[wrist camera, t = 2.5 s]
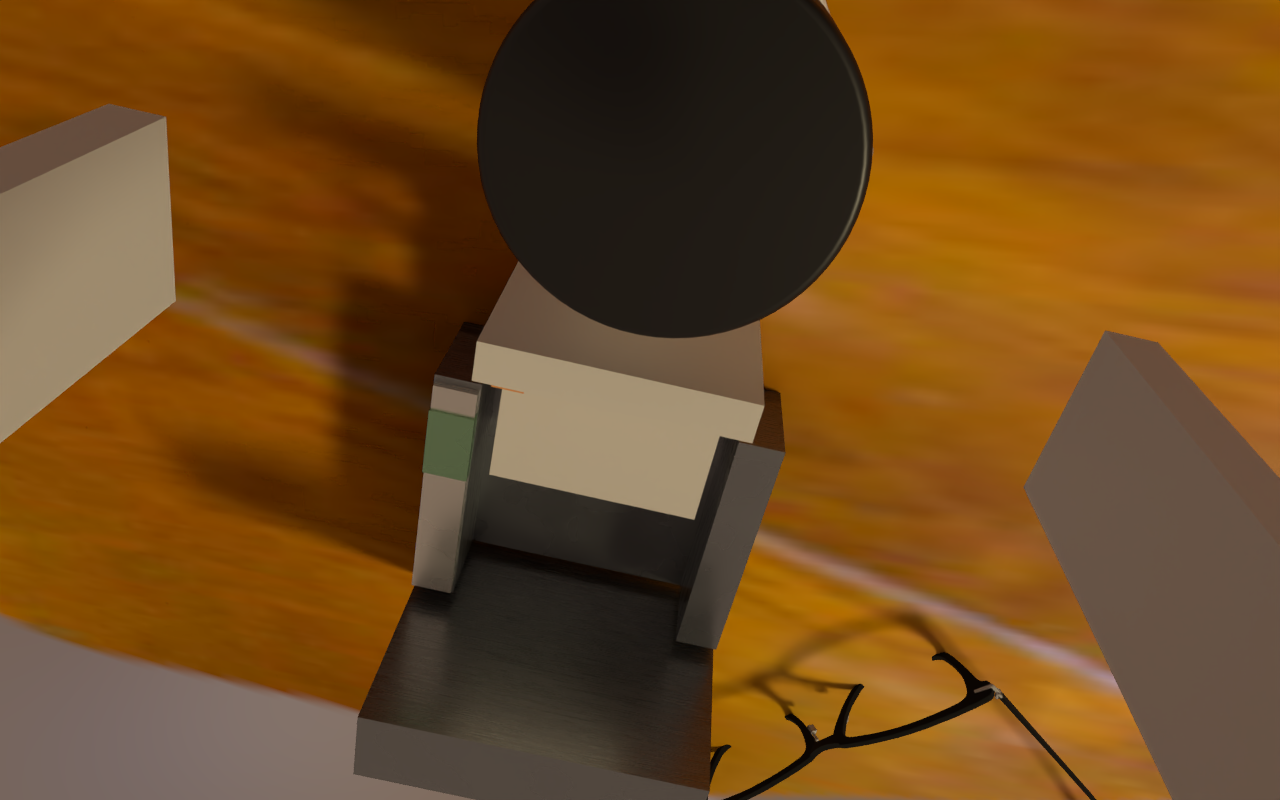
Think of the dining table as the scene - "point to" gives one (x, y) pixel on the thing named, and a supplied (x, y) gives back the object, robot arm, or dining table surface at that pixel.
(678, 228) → the jar
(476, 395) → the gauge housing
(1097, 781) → the dining table surface
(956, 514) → the dining table surface
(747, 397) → the beige angular block
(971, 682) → the eyeglasses
